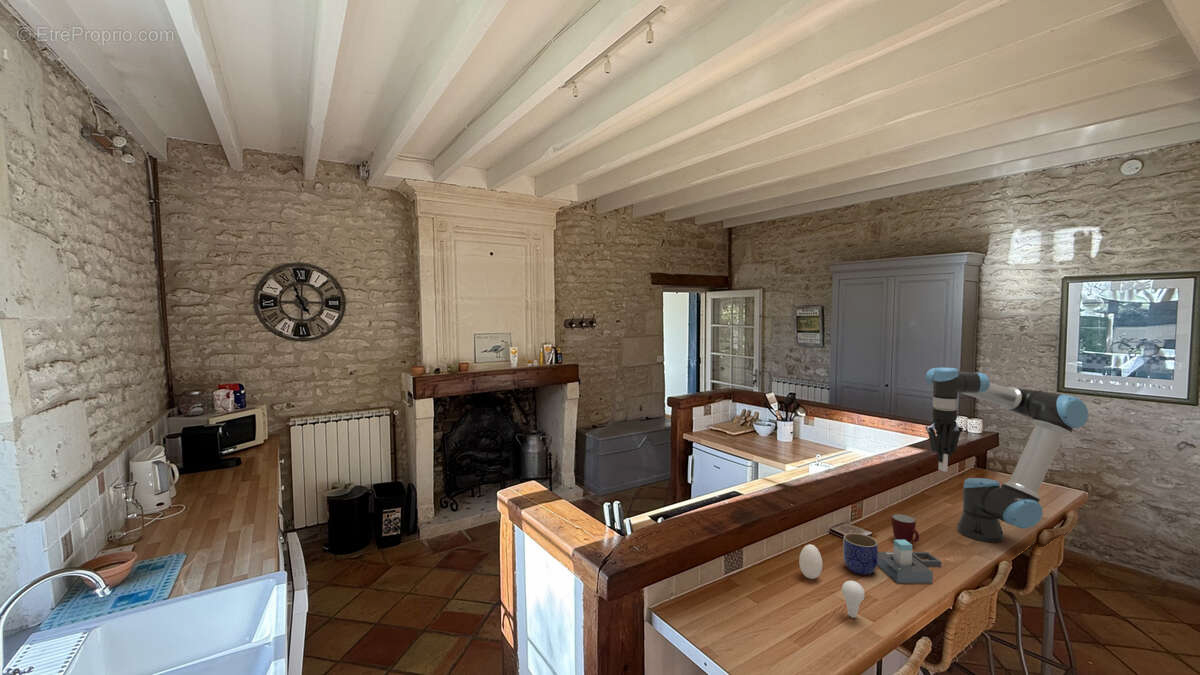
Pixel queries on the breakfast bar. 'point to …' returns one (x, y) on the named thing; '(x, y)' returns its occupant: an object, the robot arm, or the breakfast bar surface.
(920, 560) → the holster
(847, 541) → the planter
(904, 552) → the plug
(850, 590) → the lightbulb
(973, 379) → the robot arm
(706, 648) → the breakfast bar surface
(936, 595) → the breakfast bar surface
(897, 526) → the mug
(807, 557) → the egg
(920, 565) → the panel
